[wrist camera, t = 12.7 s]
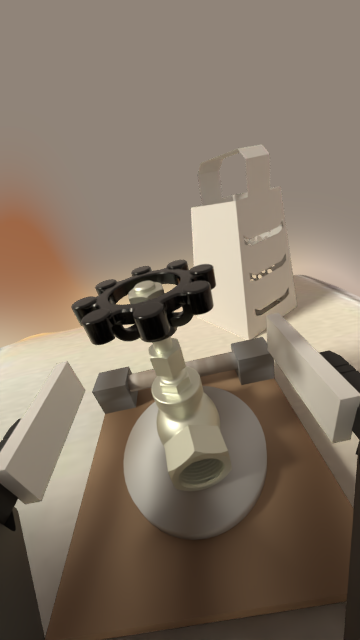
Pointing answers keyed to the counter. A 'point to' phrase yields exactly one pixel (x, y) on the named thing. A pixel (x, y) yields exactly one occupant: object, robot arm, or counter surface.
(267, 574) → the shaft stand
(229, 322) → the grater
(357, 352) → the counter surface
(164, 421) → the valve
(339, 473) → the counter surface
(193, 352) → the counter surface
